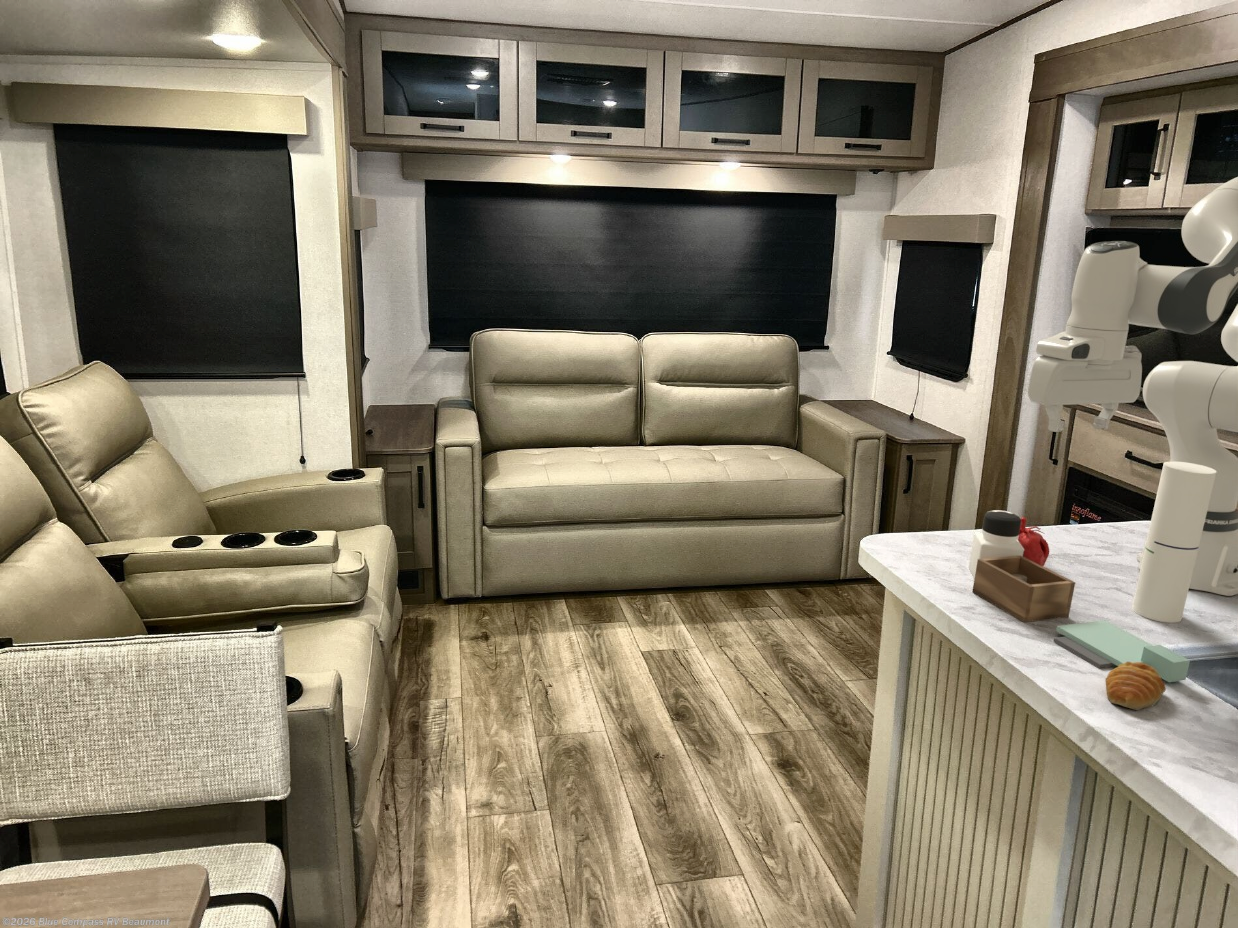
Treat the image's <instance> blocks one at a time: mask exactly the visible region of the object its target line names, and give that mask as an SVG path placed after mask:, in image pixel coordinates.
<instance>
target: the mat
mask: <svg viewBox="0 0 1238 928" xmlns="http://www.w3.org/2000/svg"><path fill="white" fill-rule="evenodd" d="M1052 642H1053V643H1055V644H1057V645H1059V646H1060V647H1062V648H1063V649H1065V650H1067V651H1069V652H1070V653H1073V654H1074V655H1076V656H1077V657H1078V658H1081V659H1082V660H1084V661H1086V662H1087V663H1090V664H1091V665H1093V666H1094V667H1096V668H1098V669H1107V668H1111V667H1112V668H1114V667H1118V666H1117V665H1115V664H1113V663H1111V662H1110V661H1108V660H1106V659H1104V658H1103V657H1101V656H1099V655H1097V654H1096V653H1094V652H1092V651H1090V650H1089V649H1087V648H1085V647H1083V646H1082V645H1080V644H1078V643H1076V642H1075V641H1073V640H1071V639H1069V638H1068V637H1066V636H1059V637H1054V638H1053V641H1052Z"/></svg>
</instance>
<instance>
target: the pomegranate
mask: <svg viewBox="0 0 1238 928" xmlns="http://www.w3.org/2000/svg"><path fill="white" fill-rule="evenodd" d="M1020 519H1021V526H1020V532H1019V537H1018V541H1019V542H1020V544H1021V545H1022V547H1023V548H1024V555H1023V557H1025V558H1027V559H1029V560H1031V561H1033V562H1035V563H1037V564H1039V565H1041V566H1043V567H1045V565H1046V562H1047V560H1048V558H1049V556H1050V546H1049V544H1048V542H1047V540H1046V539H1045V538H1044V537H1043V535H1042V534H1045V532H1043V531H1041V529H1042V528H1041V527H1040V528H1039V527H1038V526H1036V525H1034V526H1030V527H1026V524H1027V517H1025V516H1023V517H1020ZM1039 532H1040V533H1042V534H1040V533H1039Z"/></svg>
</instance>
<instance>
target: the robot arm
mask: <svg viewBox="0 0 1238 928" xmlns="http://www.w3.org/2000/svg"><path fill="white" fill-rule="evenodd" d="M1181 238H1182V242H1183V244H1184V247H1185V248H1186V250H1187V251H1188V252H1189V253H1190V254H1191V256H1192V257H1194V258H1196V260H1198V261H1200V262H1202V263H1204V264H1205V263H1206V264H1208V265H1205V266H1195V267H1194V266H1185V267H1184V266H1174V265H1173V266H1172V265H1156V264H1148V262H1147V261H1144V260H1143V259H1142V258H1141V257H1140V255H1141V254H1140V246H1139V245H1138V244H1137V243H1135V242H1132V241H1125V240H1112V241H1099V242H1095V243H1092V244H1090V245H1088V246H1087V247H1086V248H1085V249H1084V252H1083V253H1082V255H1081V258H1080V260H1079V264H1078V266H1077V269H1076V273H1075V275H1074V276H1075V277H1074V281H1073V286H1072V290H1071V312H1070V315H1069V318H1068V319H1067V320H1066V323H1065V324H1066V325H1065V331H1061V332H1059V333H1057V334H1054V335H1052V336H1050V337H1047V338H1044V339H1041V340H1039V341H1038V343H1037V344H1036V347H1035V348H1036V349H1035V350H1036V354H1037V355H1040V356H1039V357H1037V358H1036V359H1035V360H1034V362H1033V365H1032V367H1031V372H1030V377H1029V382H1028V387H1027V396H1028V398H1029V400H1030V401H1031V402H1032V403H1034V404H1037V405H1042V406H1045V408H1044V409H1045V413H1046V415H1047V417H1048V426H1047V429H1048V431H1050V432H1055V433H1057V432H1064V429H1065V428H1064V426H1065V423H1066V421H1065V420H1062V419H1061V416H1060V415H1061V414H1060V412H1062V411H1063V407H1064V406H1068V405H1070V406H1071V405H1094V404H1095V405H1096V404H1097V405H1098V404H1099V405H1100V407H1101V408H1102V409H1101V411H1100V413H1099V414H1098V416H1097V417H1094V418H1093V423H1092V427H1093V429H1096V430H1101V431H1102V430H1108V428H1109V425H1110V420H1111V419H1112V418H1113V416H1114V415H1115V413H1116V412H1117V411H1118V409H1119V404H1126V403H1128V404H1129V403H1134V402H1136V400H1137V399H1138V398H1139V396H1140V395H1141V394H1140V393H1141V386H1143V387H1142V397H1143V401H1144V402H1143V403H1145V406H1146V408H1147V410H1148V411H1150V413H1151V414H1153V416H1155V417H1156V420H1158V422H1159V423H1160V425H1161V426H1162V428H1163V430H1164V432H1165V435H1166V438H1167V441H1168V445H1169V446H1168V447H1169V453H1170V455H1169V456H1170V458H1169V459H1170V460H1169V462H1170V461H1175V462H1186V463H1193V464H1198V465H1202V466H1206V467H1209V468H1212V469H1214V470H1216V475H1215V480H1214V484H1213V488H1212V493H1211V497H1210V501H1209V505H1208V510H1207V514H1206V518H1205V522H1204V526H1203V531H1202V535H1201V539H1200V543H1199V547H1198V552H1197V556H1196V560H1195V564H1194V569H1193V573H1192V577H1191V582H1190V586H1189V589H1191V590H1197V591H1202V592H1203V591H1204V592H1209V593H1213V594H1217V595H1222V596H1228V597H1230V596H1234V595H1235V596H1236V595H1238V508H1237V504H1238V456H1237V455H1235V454H1234V453H1232V451H1230V450H1228V449H1227V448H1225V446H1223V444H1222V443H1221V441H1220V439H1219V437H1218V436H1219V435H1218V431H1217V430H1222V431H1229V432H1234V433H1238V365H1237V366H1234V365H1225V364H1224V365H1222V364H1218V363H1217V364H1215V363H1211V362H1202V361H1196V360H1195V361H1194V360H1176V361H1174V360H1173V361H1163V362H1160V363H1159V364H1158V365H1156V366H1154V368H1153V369H1152V370H1151V371H1150V372H1149V373H1148V375H1147V376H1146V377H1145V380H1144V382H1143V385H1142V379H1143V378H1142V375H1143V374H1142V373H1143V365H1142V359H1143V358H1142V352H1141V351H1140V349H1138V347H1137V346H1136V345H1127V340H1128V339H1127V338H1128V333H1129V327H1130V325H1136V326H1140V327H1148V328H1155V329H1156V328H1157V329H1164V330H1168V331H1172V332H1176V333H1182V334H1186V335H1187V334H1188V335H1196V334H1199V333H1201V332H1204V331H1205V330H1207V329H1209V328H1210V327H1212V326H1213V325H1215V324H1216V323H1217V322H1218V321H1219V319H1220V318H1221V317H1222V315H1223V313H1224V311H1225V309H1226V308H1227V305H1228V302H1229V301H1230V300H1231V297H1232V296H1233V295H1234V294H1235V292H1236V290H1237V289H1238V176H1237V177H1234V178H1232V179H1230V180H1228V181H1227V182H1225V183H1223V184H1221V185H1220V186H1218V187H1217V188H1214V190H1212V191H1211V192H1209V193H1208V194H1206V195H1205V196H1204V197H1203V198H1202V199H1200V200H1199V201H1197V202H1196V203H1195V204H1194V205H1193V206H1192V207H1190V209H1189V210H1188V212H1187V213H1186V214H1185V216H1184V218H1183V220H1182V225H1181ZM1220 341H1221V344H1222V347H1223V350H1224V351H1225V352H1226V354H1227V355H1228V356H1230V357H1231V359H1233V360H1234V361H1235V362H1236V363H1238V303H1237V304H1236V306H1235V308H1234V310H1233V312H1232V313H1231V315H1230V316H1229V318H1228V320H1227V322H1226V323H1225V325H1224V327H1223V328H1222V330H1221V337H1220ZM1146 541H1147V539H1146ZM1146 541H1145V544H1144V547H1143V550H1142V552H1138V554H1137V556H1136V559H1137V561H1138V562H1139V563H1138V565H1137V566H1138V569H1139V570H1140V569H1141V564H1142V560H1143V555H1144V550H1145V547H1146Z"/></svg>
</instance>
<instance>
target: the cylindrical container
mask: <svg viewBox="0 0 1238 928" xmlns="http://www.w3.org/2000/svg"><path fill="white" fill-rule="evenodd" d="M1215 475H1216V470H1214V469H1212V468H1209V467H1206V466H1202V465H1198V464H1193V463H1186V462H1175V461H1170V460H1169V461H1165V462H1163V466H1162V469H1161V474H1160V478H1159V484H1158V487H1157V492H1156V498H1155V501H1154V504H1153V505H1154V507H1153V509H1152V510H1153V511H1152V514H1151V519H1150V524H1149V528H1148V533H1147V538H1146V540H1147V541H1145V543H1146V547H1145V550H1144V555H1143V560H1142V564H1141V569H1139V573H1138V579H1137V583H1136V589H1135V591H1134V597H1133V602H1132V606H1131V608H1132V611H1133V612H1135V613H1136V614H1137V615H1139V616H1142V617H1144V618H1146V619H1148V620H1152V621H1157V622H1162V623H1168V624H1169V623H1171V624H1172V623H1179V622H1181V621H1182V619H1183V614H1184V611H1185V606H1186V603H1187V602H1186V601H1187V598H1188V595H1189V594H1188V593H1189V589H1190V588H1189V586H1190V582H1191V577H1192V573H1193V569H1194V564H1195V560H1196V556H1197V552H1198V547H1199V543H1200V539H1201V535H1202V531H1203V526H1204V522H1205V518H1206V514H1207V510H1208V505H1209V501H1210V497H1211V493H1212V488H1213V484H1214V480H1215Z"/></svg>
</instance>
